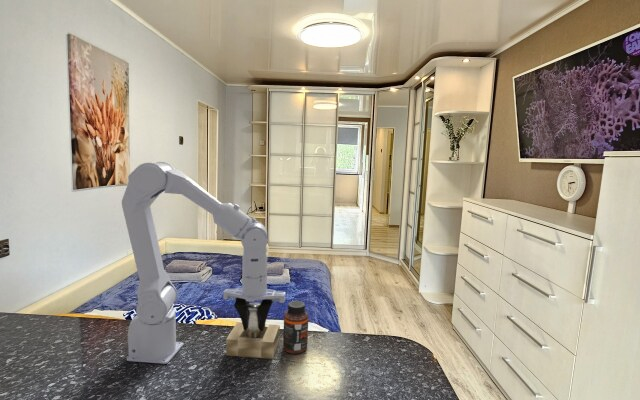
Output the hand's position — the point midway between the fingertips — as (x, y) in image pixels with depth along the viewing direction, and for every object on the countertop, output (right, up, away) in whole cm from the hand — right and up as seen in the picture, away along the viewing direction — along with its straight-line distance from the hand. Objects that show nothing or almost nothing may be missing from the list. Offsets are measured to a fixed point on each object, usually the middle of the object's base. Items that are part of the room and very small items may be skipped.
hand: (254, 328), depth 80 cm
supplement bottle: (+10, -5, +1) cm, 11 cm away
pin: (0, -3, 0) cm, 3 cm away
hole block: (0, -5, +1) cm, 5 cm away
